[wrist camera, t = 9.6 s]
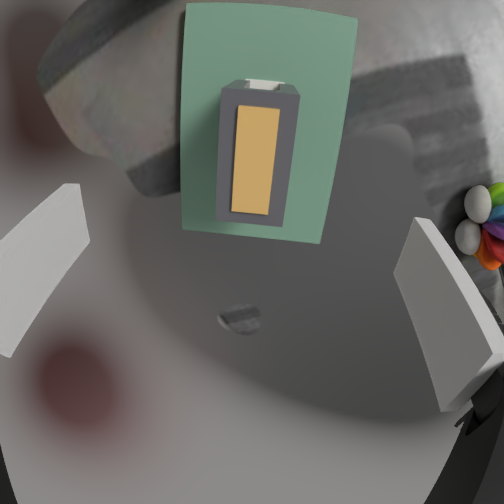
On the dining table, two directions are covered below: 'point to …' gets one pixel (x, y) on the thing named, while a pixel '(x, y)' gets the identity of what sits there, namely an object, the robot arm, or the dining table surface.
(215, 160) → the header board
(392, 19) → the dining table surface
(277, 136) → the plug housing
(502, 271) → the smartphone
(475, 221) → the rainbow wheeled toy
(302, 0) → the dining table surface
